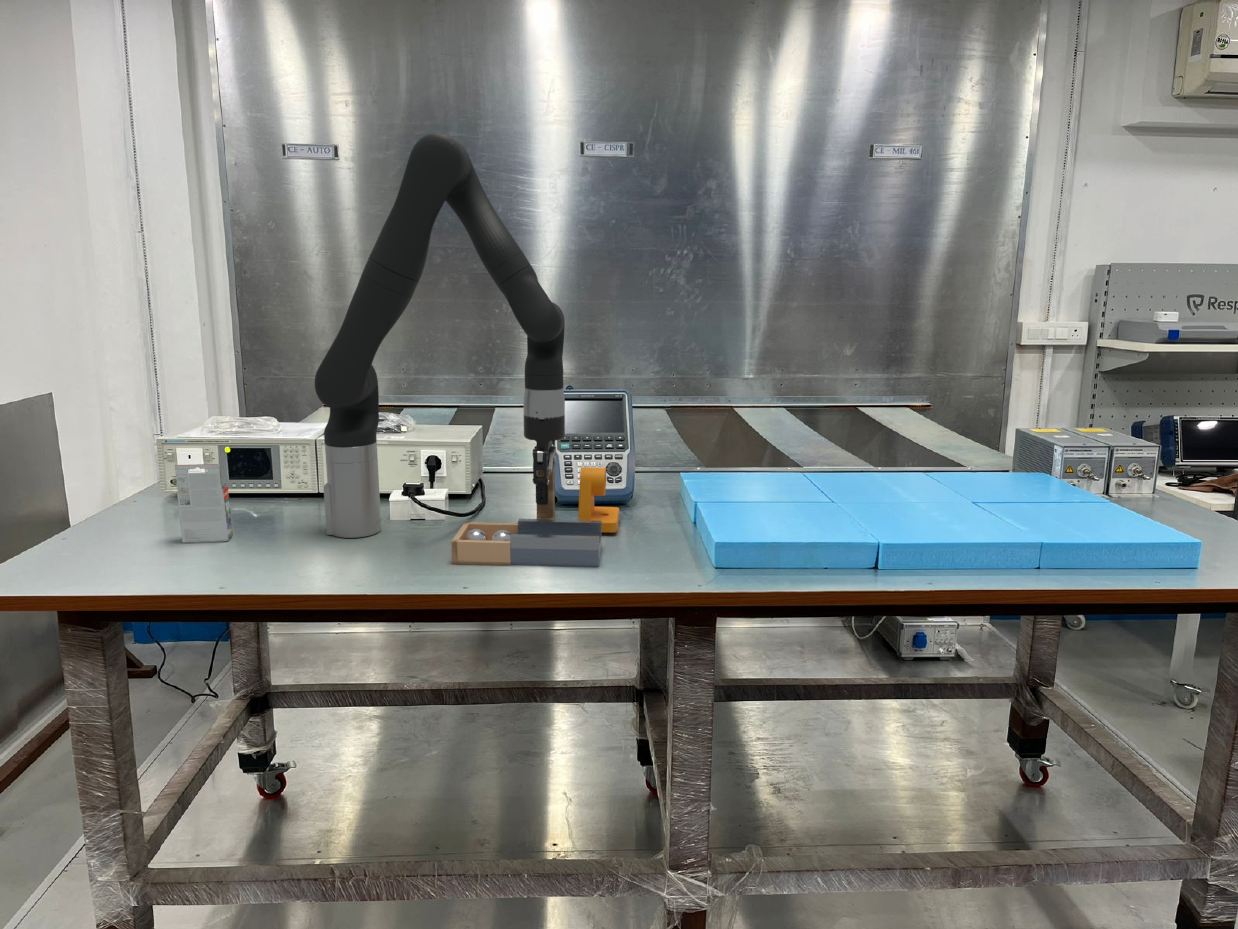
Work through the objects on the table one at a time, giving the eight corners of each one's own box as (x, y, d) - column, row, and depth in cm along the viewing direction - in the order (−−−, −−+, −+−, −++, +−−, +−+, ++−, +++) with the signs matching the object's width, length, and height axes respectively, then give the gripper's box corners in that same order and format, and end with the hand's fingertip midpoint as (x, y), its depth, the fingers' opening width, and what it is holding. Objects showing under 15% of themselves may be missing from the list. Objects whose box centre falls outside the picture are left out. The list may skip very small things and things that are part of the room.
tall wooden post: (536, 540, 157) (535, 466, 153) (539, 530, 162) (539, 460, 159) (552, 540, 157) (552, 467, 153) (555, 531, 162) (555, 460, 159)
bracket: (616, 536, 160) (617, 475, 157) (578, 535, 160) (578, 474, 157) (619, 520, 170) (620, 462, 167) (583, 519, 170) (583, 461, 168)
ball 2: (484, 541, 146) (504, 532, 145) (489, 532, 150) (508, 522, 149) (496, 560, 147) (516, 550, 146) (500, 550, 151) (519, 541, 150)
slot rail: (510, 564, 144) (510, 536, 142) (519, 544, 154) (519, 518, 153) (598, 567, 143) (598, 539, 142) (601, 546, 153) (601, 520, 152)
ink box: (188, 537, 155) (179, 460, 152) (233, 535, 156) (226, 459, 153) (181, 544, 152) (172, 465, 148) (228, 542, 153) (220, 464, 149)
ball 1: (457, 541, 146) (475, 529, 146) (462, 533, 150) (479, 521, 149) (471, 559, 147) (489, 546, 146) (476, 551, 151) (493, 538, 150)
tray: (452, 564, 144) (451, 541, 143) (465, 543, 154) (464, 522, 153) (510, 565, 143) (510, 543, 142) (519, 544, 154) (519, 523, 153)
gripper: (528, 405, 161) (529, 487, 165) (518, 418, 147) (519, 508, 151) (568, 406, 161) (568, 488, 164) (561, 419, 147) (561, 509, 151)
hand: (544, 497), depth 158 cm, fingers open, 8 cm apart
